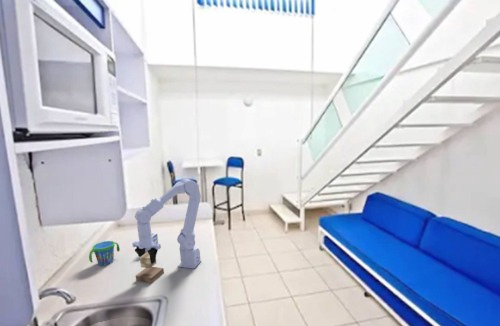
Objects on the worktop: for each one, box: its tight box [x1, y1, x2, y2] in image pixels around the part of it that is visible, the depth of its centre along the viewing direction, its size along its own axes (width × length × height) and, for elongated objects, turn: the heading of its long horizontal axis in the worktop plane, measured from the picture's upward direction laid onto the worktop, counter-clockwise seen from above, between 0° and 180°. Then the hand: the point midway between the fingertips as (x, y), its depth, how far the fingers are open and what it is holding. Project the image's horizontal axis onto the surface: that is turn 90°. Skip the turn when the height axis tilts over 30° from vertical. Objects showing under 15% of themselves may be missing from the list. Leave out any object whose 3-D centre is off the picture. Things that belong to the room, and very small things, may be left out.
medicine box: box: [145, 233, 159, 253], centre depth 166 cm, size 8×4×9 cm, turn 168°
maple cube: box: [139, 253, 157, 269], centre depth 136 cm, size 5×5×5 cm
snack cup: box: [88, 240, 120, 266], centre depth 154 cm, size 16×10×10 cm
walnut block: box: [135, 266, 165, 284], centre depth 138 cm, size 9×9×3 cm
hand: (148, 261), depth 137 cm, fingers closed on maple cube, 5 cm apart
